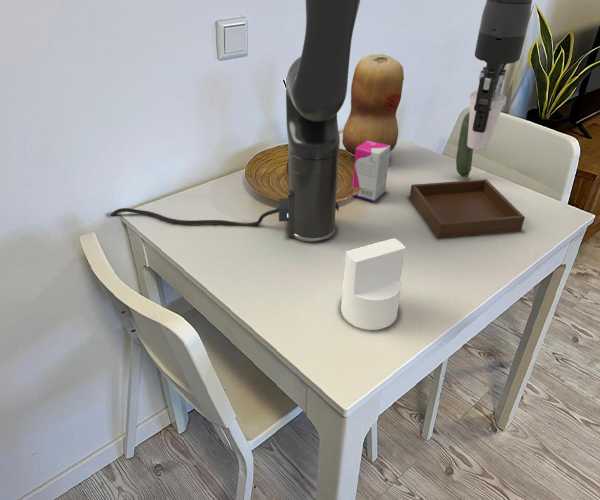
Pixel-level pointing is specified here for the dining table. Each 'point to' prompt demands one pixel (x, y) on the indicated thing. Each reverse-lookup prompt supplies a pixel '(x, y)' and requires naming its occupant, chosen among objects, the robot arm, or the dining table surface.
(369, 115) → the butternut squash
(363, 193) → the supplement box
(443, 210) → the tray
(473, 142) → the smoothie
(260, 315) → the dining table surface
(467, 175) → the vegetable
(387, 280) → the cylinder with rectangular tab
